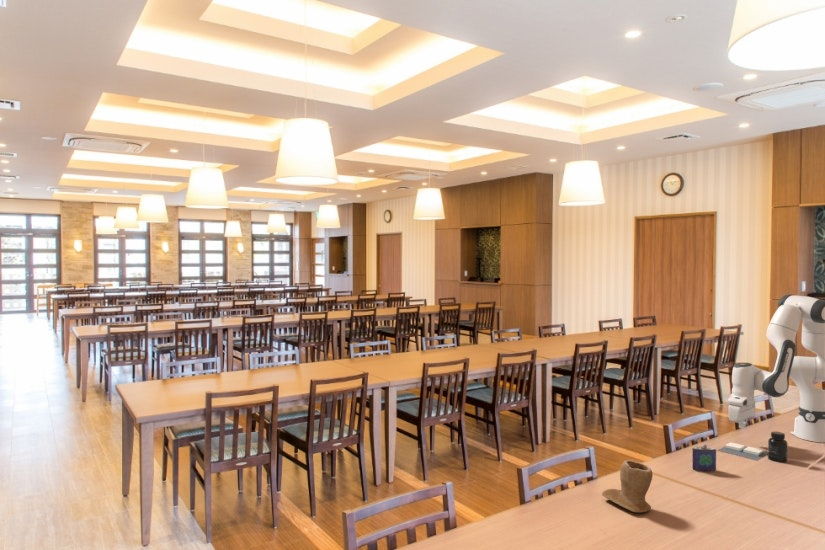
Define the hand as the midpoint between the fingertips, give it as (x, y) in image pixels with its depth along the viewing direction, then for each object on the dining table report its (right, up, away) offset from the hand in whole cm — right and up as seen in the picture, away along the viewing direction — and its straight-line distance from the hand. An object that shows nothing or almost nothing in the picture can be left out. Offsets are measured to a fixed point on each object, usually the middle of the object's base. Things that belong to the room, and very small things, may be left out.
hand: (742, 427), depth 252 cm
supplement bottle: (+3, -9, -20) cm, 22 cm away
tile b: (-5, -7, -4) cm, 9 cm away
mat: (-6, -8, -10) cm, 14 cm away
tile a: (0, -7, -10) cm, 12 cm away
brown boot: (-77, -9, -63) cm, 100 cm away
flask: (-34, -9, -31) cm, 47 cm away
